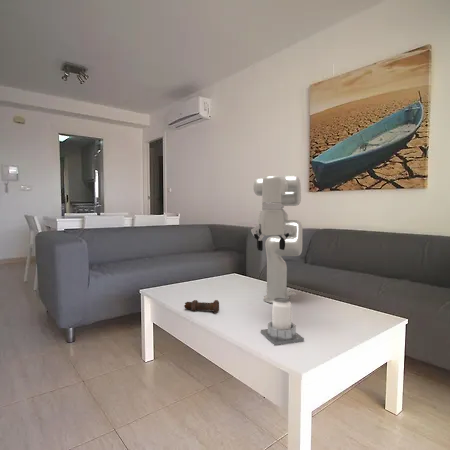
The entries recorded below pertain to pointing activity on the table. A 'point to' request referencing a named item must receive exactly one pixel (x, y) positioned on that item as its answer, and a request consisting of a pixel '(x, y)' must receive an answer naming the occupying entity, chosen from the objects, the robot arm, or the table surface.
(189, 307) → the bolt
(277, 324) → the can
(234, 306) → the table surface
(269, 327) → the duct collar
